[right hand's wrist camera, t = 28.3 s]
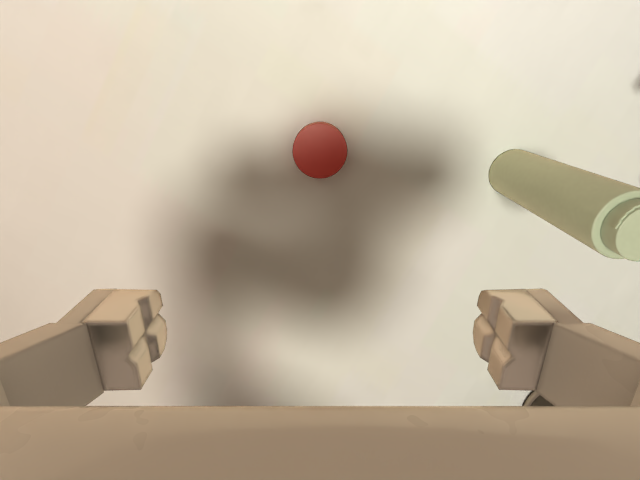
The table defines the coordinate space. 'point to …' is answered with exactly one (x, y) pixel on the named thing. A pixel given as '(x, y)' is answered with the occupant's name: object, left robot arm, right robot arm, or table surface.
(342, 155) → the lid
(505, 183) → the olive green cylinder
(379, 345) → the table surface
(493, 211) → the table surface
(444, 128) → the table surface
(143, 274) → the table surface
